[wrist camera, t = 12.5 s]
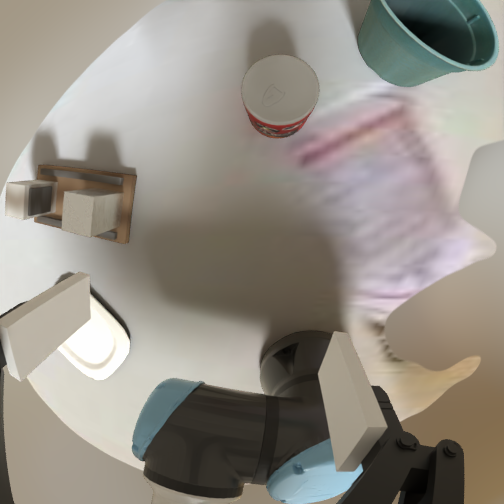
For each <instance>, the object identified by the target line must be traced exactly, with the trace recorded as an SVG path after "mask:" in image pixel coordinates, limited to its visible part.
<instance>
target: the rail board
mask: <svg viewBox="0 0 504 504" xmlns="http://www.w3.org/2000/svg"><path fill="white" fill-rule="evenodd" d="M136 178H137V176H135V175H128V174H121V173H113V172H105V171H97V170H89V169H80V168H71V167H61V166H50V165H39V166H38V174H37V180H29V181H19V182H9V183H7V184H6V201H5V215H6V216H10V217H13V218H17V219H21V220H26V219H30V218H34V222H37V223H41V224H45V225H49V226H52V227H56V228H60V229H62V214H63V201H64V192H65V191H73V190H82V189H90V188H101V189H107V190H112V191H118V192H124V197H123V204H122V212H121V221H120V227H117V228H114V229H112V230H109V231H106V232H104V233H101V234H98V235H96V236H93V237H97V238H101V239H106V240H110V241H114V242H118V243H123V244H126V243H128V242H129V233H130V223H131V215H132V206H133V198H134V191H135V184H136Z"/></svg>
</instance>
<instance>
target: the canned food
mask: <svg viewBox="0 0 504 504" xmlns="http://www.w3.org/2000/svg"><path fill="white" fill-rule="evenodd" d="M241 94H242V99H243V103H244V106H245V108H246V111H247V113H248V116H249V119H250V121H251V123H252V125H253V126H254V128H255V129H256V130H257V131H258V132H260V133H261V134H263V135H265V136H267V137H271V138H284V137H288V136H291V135H293V134H294V133H296V132H297V131H298V130H299V129H300V128H301V127H302V126H303V125H304V123H305V122H306V120H307V118H308V117H309V115H310V114H311V112H312V111H313V109H314V107H315V105H316V103H317V100H318V96H319V82H318V78H317V76H316V74H315V72H314V71H313V69H312V68H311V67H310V66H309V65H308V64H307V63H306V62H304V61H303V60H301V59H299V58H297V57H294V56H291V55H285V54H276V55H271V56H267V57H265V58H262V59H260V60H259V61H257V62H255V63H254V64H253V65H252V66H251V67H250V68H249V70H248V71H247V72H246V74H245V76H244V78H243V82H242V87H241Z"/></svg>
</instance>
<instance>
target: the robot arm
mask: <svg viewBox="0 0 504 504" xmlns="http://www.w3.org/2000/svg"><path fill="white" fill-rule="evenodd" d="M90 319H91V310H90V275H88V274H85V273H82V272H78V273H76V274H74V275H72V276H70V277H69V278H67V279H65V280H63V281H62V282H60V283H58V284H56V285H55V286H53V287H51V288H50V289H48V290H46V291H44V292H43V293H41V294H39V295H38V296H36V297H34V298H33V299H31V300H29V301H27V302H23V303H20V304H18V305H17V306H15V307H13V309H10V310H9V311H8V312H5V313H4V314H2V315H1V316H0V504H14V501H13V497H12V493H11V487H10V482H9V476H8V469H7V461H6V453H5V442H4V426H3V425H4V424H3V388H4V371H3V367H4V366H5V365H6V364H7V366H8V370H9V373H10V375H11V376H13V377H14V378H16V379H18V380H19V381H22V380H24V379H25V378H26V377H27V376H28V375H29V374H30V373H31V372H32V371H33V370H34V369H35V368H36V367H37V366H38V365H40V364H41V363H42V362H43V361H44V360H45V359H46V358H47V357H48V356H49V355H50V354H52V353H53V352H54V351H55V350H56V349H57V348H58V347H59V346H60V345H61V344H63V343H64V342H65V341H66V340H67V339H68V338H69V337H70V336H72V335H73V334H74V333H75V332H76V331H77V330H78V329H80V328H81V327H82V326H83V325H84V324H85V323H87V322H88V321H89V320H90ZM260 382H261V386H262V389H263V391H264V393H265V394H258V393H252V392H245V391H239V390H233V389H228V388H222V387H217V386H212V385H207V384H205V383H204V382H202V381H199V382H194V381H188V380H183V379H177V378H170V379H167V380H165V381H163V382H161V383H160V384H159V385H158V386H157V387H156V388H155V389H154V391H153V392H152V393H151V395H150V396H149V398H148V399H147V401H146V403H145V405H144V407H143V409H142V411H141V413H140V415H139V418H138V420H137V423H136V426H135V430H134V434H133V440H132V441H133V445H132V452H133V454H134V456H135V457H137V458H138V459H139V460H140V461H145V467H144V473H143V477H144V479H145V480H146V481H147V483H149V485H150V486H151V488H152V489H153V496H152V502H151V504H230V503H232V502H234V501H236V500H238V499H239V498H241V497H242V492H243V487H244V484H245V483H250V484H260V485H266V488H267V491H268V492H269V494H270V496H271V497H272V498H273V499H275V500H277V501H279V500H280V501H281V502H283V503H287V504H306V503H313V502H318V501H322V500H325V499H329V498H332V497H334V496H337V495H339V494H341V493H343V492H345V491H347V492H346V493H345V494H344V495H343V497H342V498H341V499H340V500H339V501H338V502H337V503H336V504H392V502H393V501H394V499H395V497H396V495H397V494H398V492H399V491H401V493H400V497H399V502H398V504H464V453H463V449H462V448H461V446H460V445H459V444H458V443H456V442H455V441H452V440H448V439H445V440H442V441H440V442H439V443H438V444H437V446H436V447H429V446H423V445H420V444H419V441H418V440H417V438H416V437H415V436H413V435H412V434H410V433H408V432H405V431H403V429H402V426H401V424H400V422H399V420H398V417H397V415H396V413H395V411H394V410H393V406H392V404H391V403H390V400H389V397H388V395H387V393H386V392H385V391H384V390H383V389H382V388H381V387H380V386H371V385H370V382H369V380H368V378H367V375H366V373H365V371H364V368H363V366H362V364H361V361H360V359H359V357H358V355H357V352H356V350H355V348H354V346H353V343H352V341H351V339H350V337H349V334H348V333H344V332H337V331H334V333H333V335H331V334H328V333H325V332H320V331H303V332H298V333H294V334H291V335H288V336H286V337H284V338H282V339H281V340H279V341H277V342H276V343H275V344H274V345H273V346H271V347H270V349H269V350H268V351H267V352H266V354H265V356H264V357H263V360H262V363H261V369H260Z"/></svg>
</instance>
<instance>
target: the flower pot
mask: <svg viewBox="0 0 504 504" xmlns="http://www.w3.org/2000/svg"><path fill="white" fill-rule="evenodd" d="M358 46H359V50H360V53H361V55H362V57H363V59H364V61H365V62H366V64H367V65H368V66H369V67H370V68H372V69H373V70H374V71H375V72H376V73H377V74H378V75H379V76H380V78H382V79H384V80H385V81H387V82H389V83H391V84H394V85H398V86H402V87H413V86H417V85H419V84H422V83H425V82H427V81H430V80H432V79H435V78H438V77H440V76H443V75H446V74H449V73H451V72H462V71H466V70H467V71H481V70H485V69H487V68H489V67H490V66H492V65H493V64H494V63H495V61H496V59H497V57H498V52H499V41H498V36H497V32H496V29H495V26H494V24H493V21H492V20H491V17H490V15H489V14H488V12H487V10H486V9H485V7H484V6H483V4H482V3H481V2H480V0H371V2H370V5H369V8H368V11H367V13H366V16H365V19H364V22H363V24H362V27H361V30H360V33H359V36H358Z"/></svg>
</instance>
